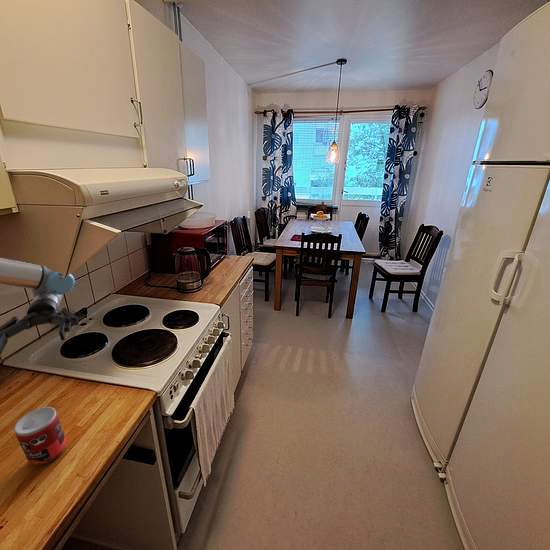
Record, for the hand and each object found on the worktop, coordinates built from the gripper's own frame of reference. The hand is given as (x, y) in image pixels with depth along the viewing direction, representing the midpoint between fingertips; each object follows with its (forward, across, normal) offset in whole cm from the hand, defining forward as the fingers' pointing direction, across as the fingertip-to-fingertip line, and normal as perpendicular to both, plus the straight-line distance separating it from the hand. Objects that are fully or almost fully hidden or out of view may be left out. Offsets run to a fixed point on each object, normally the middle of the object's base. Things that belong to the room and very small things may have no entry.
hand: (30, 343), depth 76 cm
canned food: (+15, 0, -24) cm, 28 cm away
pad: (+15, 0, -25) cm, 29 cm away
